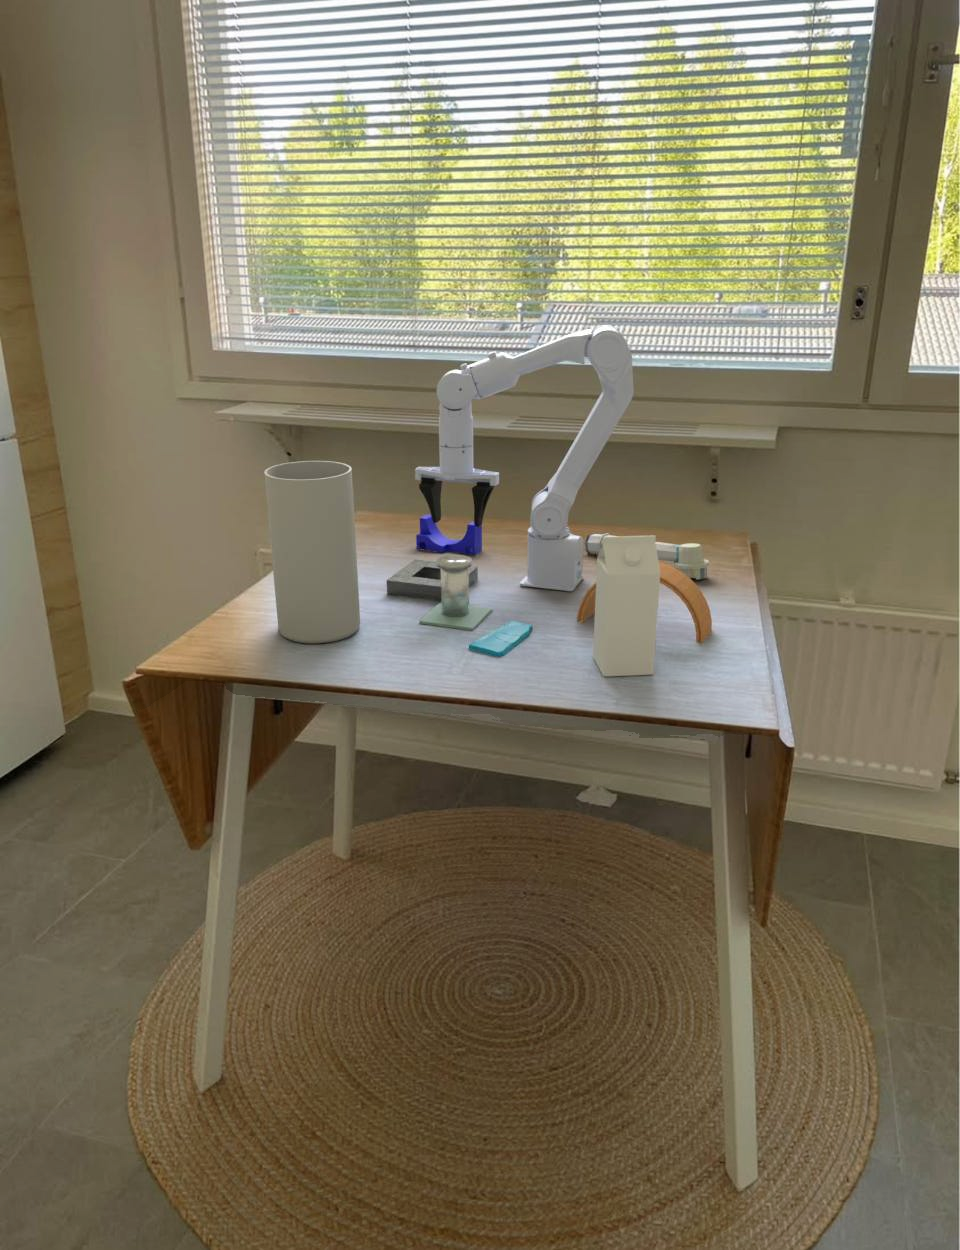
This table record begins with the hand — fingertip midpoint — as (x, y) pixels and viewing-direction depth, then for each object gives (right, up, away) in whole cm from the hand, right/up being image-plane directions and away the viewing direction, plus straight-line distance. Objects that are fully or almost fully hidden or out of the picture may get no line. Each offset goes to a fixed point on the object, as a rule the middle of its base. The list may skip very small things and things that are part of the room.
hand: (457, 523), depth 166 cm
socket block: (-4, -11, +1) cm, 12 cm away
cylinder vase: (-21, -19, -17) cm, 33 cm away
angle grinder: (+34, -7, +11) cm, 37 cm away
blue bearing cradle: (-2, -3, +21) cm, 21 cm away
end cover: (0, -16, -12) cm, 20 cm away
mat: (0, -16, -13) cm, 21 cm away
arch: (+29, -18, -16) cm, 38 cm away
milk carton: (+24, -24, -31) cm, 45 cm away
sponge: (+8, -20, -21) cm, 31 cm away
